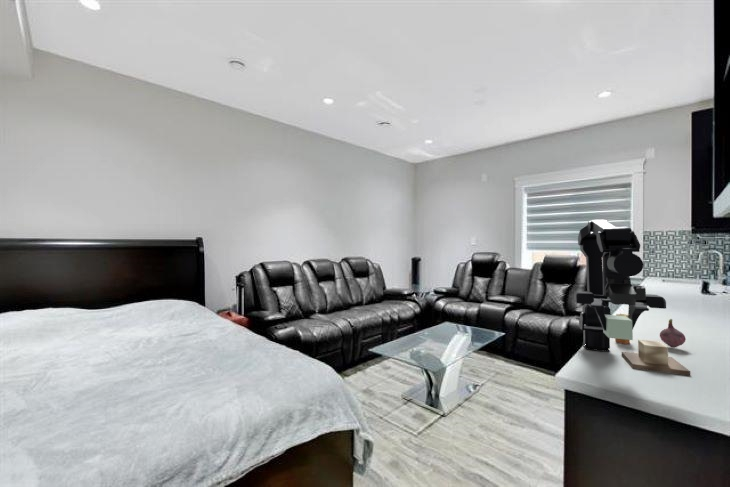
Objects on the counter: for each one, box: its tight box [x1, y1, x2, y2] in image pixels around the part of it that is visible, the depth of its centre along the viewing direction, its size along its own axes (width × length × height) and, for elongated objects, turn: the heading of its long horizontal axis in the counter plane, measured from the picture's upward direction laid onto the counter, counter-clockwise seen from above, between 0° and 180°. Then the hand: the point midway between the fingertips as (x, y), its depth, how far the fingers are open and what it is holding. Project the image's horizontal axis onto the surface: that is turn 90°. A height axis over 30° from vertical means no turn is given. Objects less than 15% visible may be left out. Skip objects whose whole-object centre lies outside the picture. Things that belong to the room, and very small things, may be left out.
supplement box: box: [614, 313, 631, 345], centre depth 113 cm, size 3×3×10 cm
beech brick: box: [637, 339, 669, 365], centre depth 92 cm, size 5×6×5 cm
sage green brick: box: [603, 314, 634, 341], centre depth 85 cm, size 5×6×5 cm
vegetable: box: [659, 318, 687, 349], centre depth 106 cm, size 6×6×10 cm
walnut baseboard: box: [621, 351, 691, 377], centre depth 92 cm, size 12×12×1 cm
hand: (617, 331), depth 85 cm, fingers closed on sage green brick, 5 cm apart
